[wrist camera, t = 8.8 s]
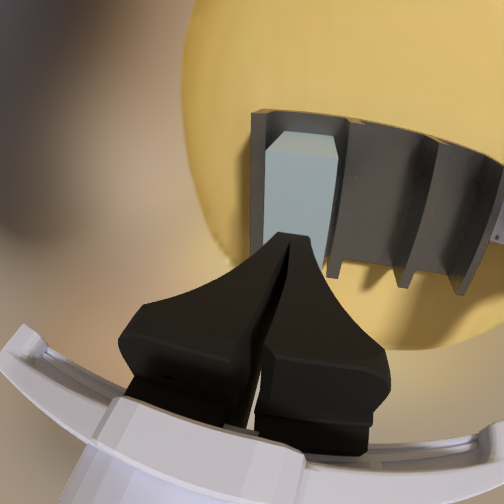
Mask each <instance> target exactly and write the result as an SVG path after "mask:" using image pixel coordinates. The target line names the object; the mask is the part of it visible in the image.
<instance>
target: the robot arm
mask: <svg viewBox="0 0 504 504" xmlns="http://www.w3.org/2000/svg"><path fill="white" fill-rule="evenodd" d="M496 235H497V237H496ZM495 237H496V238H495ZM490 241H491V242H495V243H499V244H503V245H504V201H503V204H502V207H501V210H500V213H499V216H498V219H497V222H496V225H495V228H494V230H493V233H492V235H491V238H490ZM118 346H119V349H120V352H121V354H122V356H123V358H124V359H125V361H126V363H127V365H128V366H129V368H130V370H131V371H132V373H133V374H134V378H133V379H132V381H131V383H130V385H129V386H128V388H127V389H125V388H123V387H121V386H119V385H117V384H115V383H113V382H110V381H108V380H106V379H104V378H102V377H100V376H98V375H96V374H94V373H92V372H91V371H89V370H87V369H85V368H83V367H82V366H80V365H78V364H76V363H75V362H73V361H71V360H69V359H67V358H66V357H64V356H63V355H61V354H59V353H58V352H56V351H55V350H53V349H51V348H50V347H48V344H47V342H46V341H45V340H44V338H43V337H42V336H41V335H40V334H39V333H38V332H37V331H36V330H34V329H33V328H31V327H30V326H28V325H27V324H25V323H23V325H22V326H21V327H20V328H19V329H18V330H17V332H16V333H15V334H14V335H13V336H12V338H11V339H10V340H9V341H8V343H7V344H6V345H5V346H4V348H3V349H2V350H1V352H0V371H1V372H2V373H3V374H4V375H5V376H6V378H8V380H9V381H10V382H11V383H13V385H14V386H15V387H16V388H18V390H19V391H20V392H21V393H22V394H24V395H25V396H26V397H27V398H28V399H29V400H30V401H31V402H33V403H34V404H35V405H36V406H37V407H38V408H39V409H41V410H42V411H43V412H44V413H45V414H47V415H48V416H49V417H50V418H52V419H53V420H54V421H55V422H57V423H58V424H59V425H61V426H62V427H63V428H65V429H66V430H68V431H69V432H70V433H72V434H73V435H75V436H76V437H77V438H79V439H80V440H82V441H83V442H85V443H86V444H87V446H86V448H85V449H84V451H83V453H82V455H81V457H80V459H79V461H78V463H77V465H76V466H75V469H74V470H73V472H72V474H71V476H70V478H69V480H68V482H67V484H66V486H65V488H64V490H63V493H62V494H61V496H60V499H59V500H58V502H57V504H451V503H455V502H458V501H461V500H464V499H468V498H471V497H473V496H476V495H479V494H481V493H484V492H486V491H489V490H491V489H494V488H496V487H498V486H501V485H503V484H504V420H501V421H497V422H494V423H492V424H490V425H488V426H486V427H485V428H484V429H482V430H481V431H480V432H479V433H478V434H473V435H468V436H462V437H456V438H450V439H443V440H435V441H425V442H413V443H397V444H396V443H395V444H394V443H393V444H368V440H369V439H368V438H369V427H371V426H372V424H373V412H374V411H375V410H376V409H377V408H378V407H379V406H380V404H381V403H382V402H383V401H384V400H385V399H386V398H387V396H388V395H389V393H390V391H391V377H390V369H389V365H388V360H387V356H386V352H385V350H384V348H382V347H381V346H380V345H379V344H378V343H377V342H376V341H374V340H373V339H372V338H371V337H370V336H369V335H368V334H366V333H365V332H364V331H363V330H362V329H361V328H360V327H359V326H358V325H357V324H356V323H355V321H354V320H353V319H352V318H351V317H350V316H349V314H348V313H347V312H346V311H345V310H344V308H343V307H342V306H341V304H340V303H339V301H338V300H337V299H336V297H335V296H334V294H333V292H332V291H331V289H330V288H329V286H328V284H327V282H326V280H325V278H324V276H323V274H322V272H321V270H320V268H319V266H318V263H317V261H316V258H315V256H314V253H313V249H312V246H311V239H310V237H309V236H306V235H299V234H291V233H284V232H277V233H275V234H274V235H273V236H272V237H271V238H270V239H269V240H268V241H267V242H266V243H265V244H264V245H263V246H262V247H261V248H260V249H259V250H258V251H256V252H255V253H254V254H253V255H252V256H250V257H249V258H248V259H247V260H245V261H244V262H243V263H241V264H240V265H239V266H237V267H236V268H234V269H233V270H231V271H230V272H228V273H226V274H225V275H223V276H221V277H220V278H218V279H216V280H213V281H211V282H209V283H207V284H205V285H203V286H201V287H199V288H196V289H194V290H191V291H189V292H186V293H183V294H181V295H177V296H174V297H171V298H168V299H164V300H160V301H157V302H152V303H148V304H144V305H142V306H141V308H140V309H139V310H138V311H137V312H136V314H135V315H134V316H133V318H132V319H131V321H130V322H129V324H128V325H127V327H126V328H125V329H124V331H123V332H122V334H121V335H120V337H119V338H118ZM261 368H262V369H261ZM260 372H261V384H260V392H259V396H258V399H257V403H256V406H255V410H254V413H255V423H254V431H253V430H249V429H246V427H247V423H248V419H249V415H250V411H251V407H252V404H253V400H254V396H255V391H256V388H257V384H258V380H259V376H260Z"/></svg>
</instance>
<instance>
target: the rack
mask: <svg viewBox="0 0 504 504" xmlns="http://www.w3.org/2000/svg"><path fill="white" fill-rule="evenodd" d="M284 131H289V132H301V133H310V134H319V135H327V136H333V137H334V142H335V146H336V150H337V155H338V166H337V174H336V182H335V190H334V197H333V204H332V211H331V218H330V224H329V231H328V237H327V243H326V248H325V254H324V256H327V271H326V277H327V278H334V279H338V276H339V272H340V268H341V264H342V260H343V259H348V260H355V261H361V262H368V263H375V264H382V265H388V266H392V267H393V271H394V275H395V278H396V282H397V286H398V287H399V288H407V289H408V287H409V284H410V282H411V280H412V277H413V275H414V272H415V270H421V271H428V272H435V273H441V274H447V276H448V278H449V280H450V282H451V285H452V287H453V289H454V291H455V294H456V295H462V296H464V294H465V292H466V290H467V288H468V286H469V284H470V283H471V281H472V279H473V276H474V274H475V272H476V270H477V268H478V266H479V264H480V262H481V259H482V257H483V255H484V253H485V250H486V248H487V245H488V243H489V241H490V238H491V235H492V233H493V230H494V228H495V225H496V222H497V219H498V216H499V213H500V210H501V207H502V204H503V201H504V164H502V163H500V162H499V161H497V160H495V159H494V158H492V157H490V156H488V155H486V154H484V153H481V152H479V151H476V150H473V149H471V148H468V147H465V146H462V145H459V144H457V143H454V142H450V141H447V140H444V139H441V138H438V137H434V136H431V135H428V134H424V133H420V132H417V131H413V130H409V129H405V128H401V127H396V126H392V125H387V124H383V123H378V122H373V121H367V120H362V119H356V118H350V117H344V116H337V115H329V114H321V113H312V112H302V111H290V110H274V109H261V110H259V111H256V112H253V113H251V197H250V256H252V255H253V254H254V253H255V252H256V251H258V250H259V249H260V248H261V247H262V246H263V231H264V195H265V153H266V150H267V149H268V148H269V147H270V146H271V145H272V144H273V142H274V141H275V140H276V139H277V138H278V137H279V136H280V135H281V134H282V133H283V132H284Z"/></svg>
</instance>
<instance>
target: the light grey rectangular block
mask: <svg viewBox="0 0 504 504" xmlns="http://www.w3.org/2000/svg"><path fill="white" fill-rule="evenodd" d="M337 166H338V155H337V150H336V146H335V142H334V137H333V136H327V135H319V134H310V133H301V132H289V131H284V132H283V133H282V134H281V135H280V136H279V137H278V138H277V139H276V140H275V141H274V142H273V144H272V145H271V146H270V147H269V148H268V149H267V150H266V153H265V195H264V231H263V245H264V244H265V243H266V242H267V241H268V240H269V239H270V238H271V237H272V236H273V235H274V234H275V233H277V232H284V233H291V234H299V235H306V236H309V237H310V239H311V246H312V249H313V253H314V256H315V258H316V261H317V263H318V266H319V268H320V270H322V265H323V260H324V254H325V248H326V243H327V237H328V231H329V224H330V218H331V211H332V204H333V197H334V190H335V182H336V174H337Z"/></svg>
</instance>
